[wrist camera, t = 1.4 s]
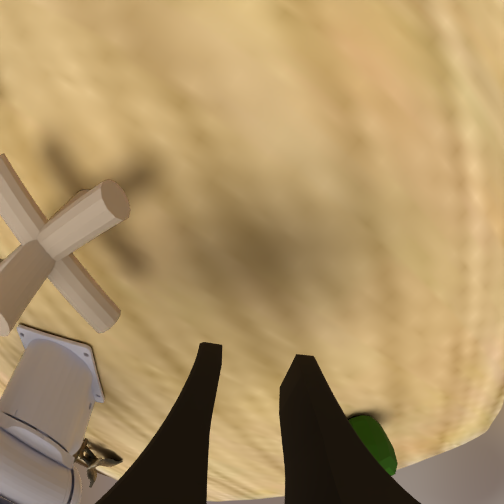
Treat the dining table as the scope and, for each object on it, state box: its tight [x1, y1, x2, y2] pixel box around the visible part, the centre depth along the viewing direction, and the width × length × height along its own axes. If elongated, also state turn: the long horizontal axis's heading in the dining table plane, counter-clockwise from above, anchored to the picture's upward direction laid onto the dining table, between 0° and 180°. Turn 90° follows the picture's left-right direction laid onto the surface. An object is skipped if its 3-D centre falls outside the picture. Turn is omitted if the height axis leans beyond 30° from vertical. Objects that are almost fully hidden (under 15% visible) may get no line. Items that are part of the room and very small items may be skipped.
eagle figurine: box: [72, 439, 123, 487], centre depth 36 cm, size 8×7×9 cm
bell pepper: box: [349, 415, 397, 476], centre depth 28 cm, size 8×8×10 cm
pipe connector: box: [0, 154, 130, 337], centre depth 13 cm, size 10×10×10 cm
